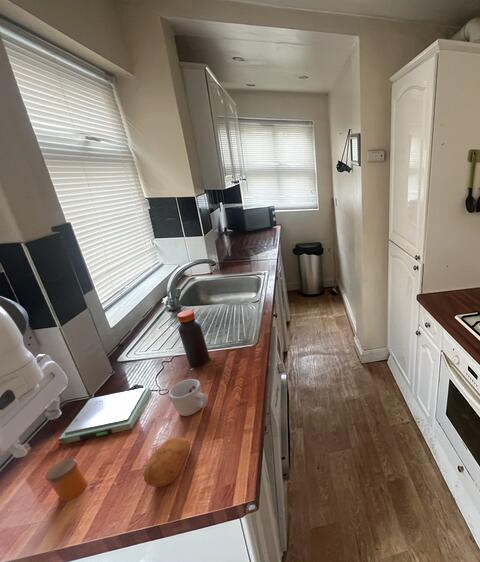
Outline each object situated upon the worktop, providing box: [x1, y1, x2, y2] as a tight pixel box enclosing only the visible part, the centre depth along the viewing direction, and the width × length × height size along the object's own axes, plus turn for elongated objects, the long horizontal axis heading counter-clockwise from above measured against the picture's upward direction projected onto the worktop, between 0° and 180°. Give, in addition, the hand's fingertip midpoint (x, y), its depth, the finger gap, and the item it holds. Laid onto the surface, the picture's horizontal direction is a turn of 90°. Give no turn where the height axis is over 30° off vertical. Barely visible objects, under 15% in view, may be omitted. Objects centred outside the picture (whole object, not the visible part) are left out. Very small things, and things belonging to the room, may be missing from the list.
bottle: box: [176, 309, 211, 368], centre depth 109 cm, size 7×7×20 cm
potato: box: [143, 436, 191, 488], centre depth 72 cm, size 7×13×7 cm, turn 8°
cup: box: [167, 378, 209, 417], centre depth 89 cm, size 11×8×8 cm
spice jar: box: [45, 458, 88, 502], centre depth 68 cm, size 5×5×7 cm
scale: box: [58, 387, 152, 445], centre depth 89 cm, size 16×16×3 cm
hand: (40, 434), depth 63 cm, fingers open, 8 cm apart
